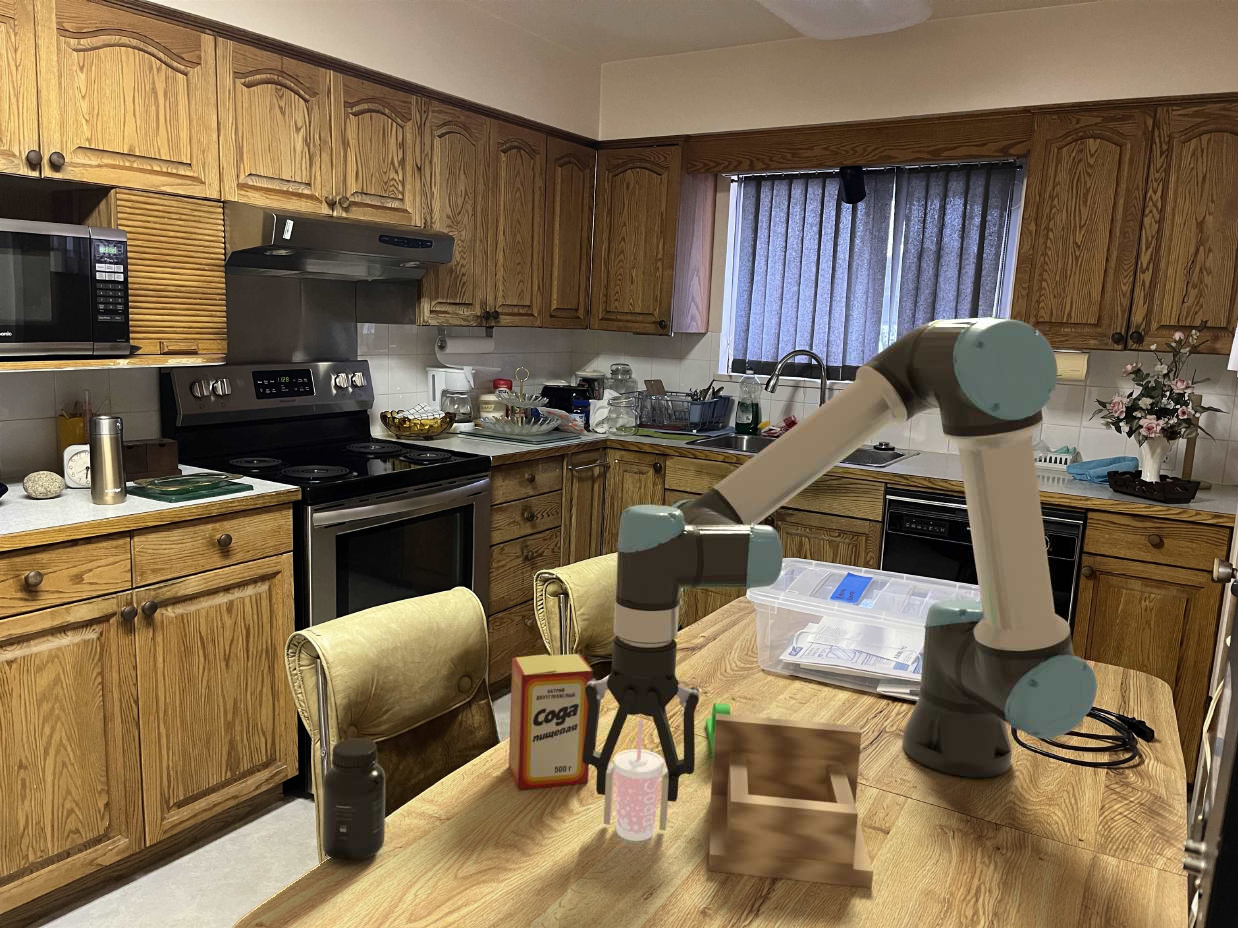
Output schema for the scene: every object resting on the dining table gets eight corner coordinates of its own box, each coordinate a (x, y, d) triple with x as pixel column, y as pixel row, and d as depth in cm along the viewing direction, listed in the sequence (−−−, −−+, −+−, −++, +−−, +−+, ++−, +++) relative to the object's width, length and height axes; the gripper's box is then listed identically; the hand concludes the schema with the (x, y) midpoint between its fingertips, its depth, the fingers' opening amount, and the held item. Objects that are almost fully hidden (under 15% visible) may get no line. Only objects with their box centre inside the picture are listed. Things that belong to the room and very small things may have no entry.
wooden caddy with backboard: (851, 815, 118) (859, 725, 116) (871, 887, 102) (880, 785, 100) (710, 801, 119) (716, 713, 118) (708, 870, 104) (715, 769, 102)
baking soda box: (575, 760, 129) (580, 651, 127) (588, 782, 123) (593, 667, 121) (508, 767, 126) (512, 655, 124) (518, 789, 120) (522, 672, 118)
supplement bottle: (309, 855, 103) (310, 753, 101) (344, 825, 109) (345, 730, 108) (363, 868, 101) (364, 764, 99) (395, 837, 107) (397, 739, 106)
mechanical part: (756, 767, 130) (760, 713, 129) (713, 765, 130) (717, 711, 129) (744, 731, 142) (747, 682, 141) (705, 730, 142) (708, 680, 141)
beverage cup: (622, 847, 107) (627, 734, 106) (602, 822, 113) (607, 713, 111) (668, 838, 110) (675, 727, 108) (647, 813, 115) (652, 707, 114)
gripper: (726, 633, 111) (714, 813, 114) (570, 621, 113) (563, 798, 116) (726, 654, 104) (713, 846, 107) (560, 640, 106) (552, 829, 109)
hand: (635, 820), depth 111 cm, fingers closed on beverage cup, 6 cm apart
